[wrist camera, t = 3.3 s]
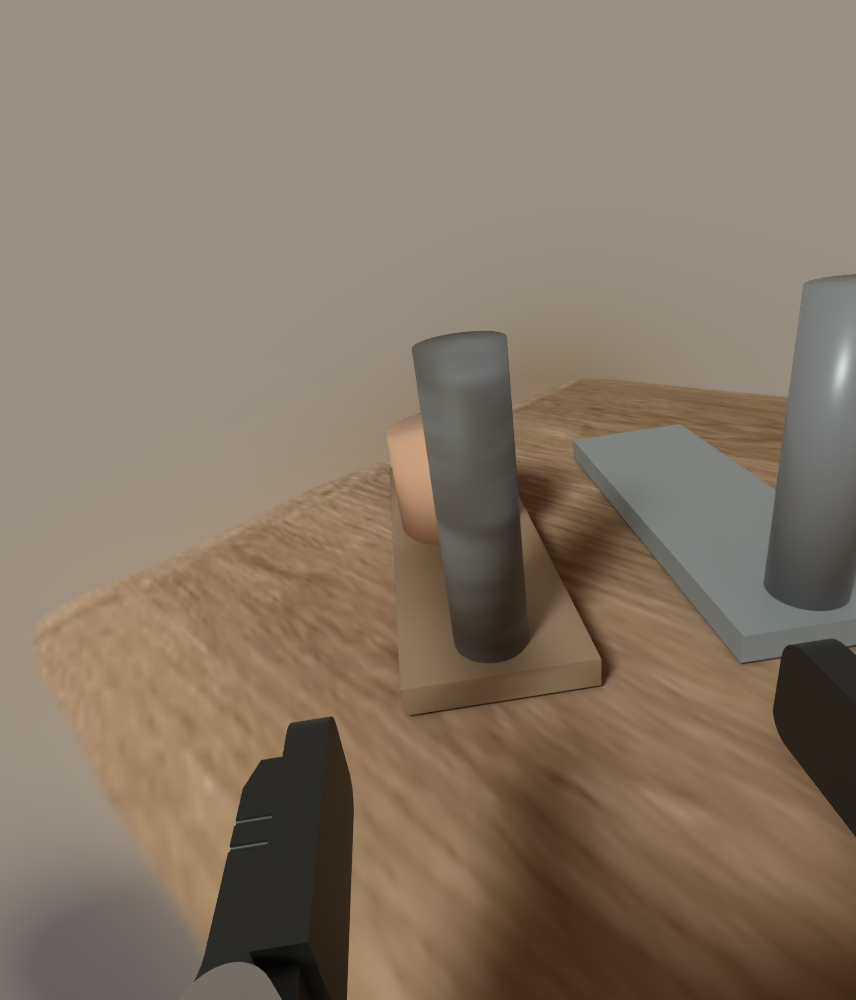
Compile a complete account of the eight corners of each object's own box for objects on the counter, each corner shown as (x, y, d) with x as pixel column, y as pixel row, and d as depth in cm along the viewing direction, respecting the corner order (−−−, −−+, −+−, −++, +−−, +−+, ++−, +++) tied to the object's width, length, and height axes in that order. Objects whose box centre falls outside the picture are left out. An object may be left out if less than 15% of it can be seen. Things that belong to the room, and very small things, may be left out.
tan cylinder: (503, 484, 34) (496, 400, 32) (527, 535, 29) (521, 437, 27) (399, 500, 34) (385, 417, 32) (404, 554, 29) (387, 458, 27)
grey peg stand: (679, 441, 39) (689, 240, 34) (933, 632, 21) (1041, 269, 16) (573, 457, 39) (568, 258, 34) (740, 663, 21) (783, 308, 16)
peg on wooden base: (498, 468, 39) (481, 271, 34) (601, 685, 21) (598, 336, 16) (392, 485, 39) (358, 290, 34) (405, 715, 21) (336, 376, 16)
